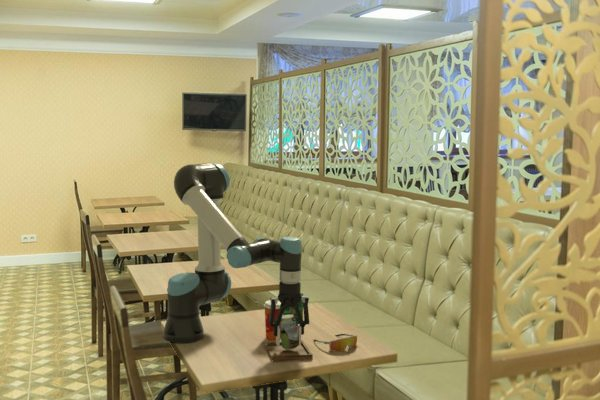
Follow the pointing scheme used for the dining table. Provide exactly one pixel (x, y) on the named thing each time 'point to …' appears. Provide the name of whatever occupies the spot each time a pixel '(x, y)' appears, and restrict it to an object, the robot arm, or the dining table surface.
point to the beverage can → (288, 332)
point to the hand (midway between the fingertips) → (288, 343)
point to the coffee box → (292, 311)
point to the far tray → (288, 352)
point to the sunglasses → (341, 342)
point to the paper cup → (268, 328)
